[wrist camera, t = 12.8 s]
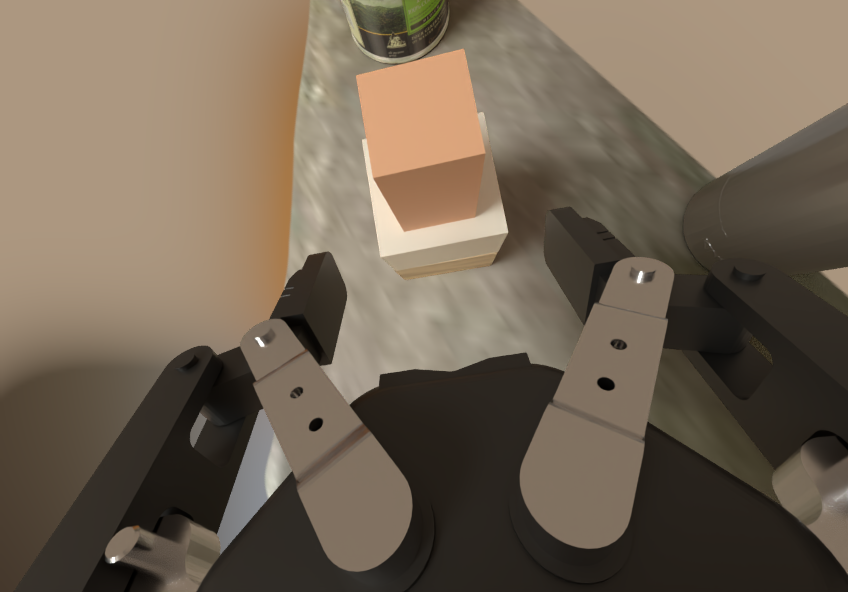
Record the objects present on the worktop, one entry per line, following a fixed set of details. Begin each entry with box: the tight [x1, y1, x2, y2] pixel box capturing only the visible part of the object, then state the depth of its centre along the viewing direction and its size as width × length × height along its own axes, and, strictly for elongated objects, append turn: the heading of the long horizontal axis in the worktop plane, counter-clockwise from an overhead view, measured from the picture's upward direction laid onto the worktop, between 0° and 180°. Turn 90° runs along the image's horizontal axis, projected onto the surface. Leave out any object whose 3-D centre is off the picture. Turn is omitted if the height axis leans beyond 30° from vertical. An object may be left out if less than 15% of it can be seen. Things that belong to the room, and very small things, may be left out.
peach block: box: [356, 49, 486, 232], centre depth 17 cm, size 4×4×8 cm
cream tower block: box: [362, 112, 508, 271], centre depth 23 cm, size 8×8×5 cm
